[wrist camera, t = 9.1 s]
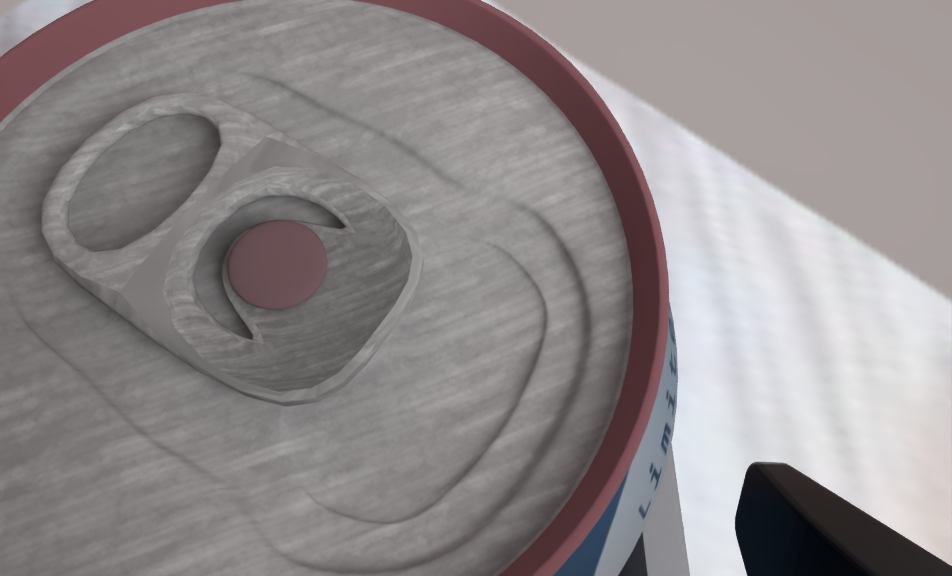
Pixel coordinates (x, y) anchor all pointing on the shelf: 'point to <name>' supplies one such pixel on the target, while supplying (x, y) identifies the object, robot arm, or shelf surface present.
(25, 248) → the soda can
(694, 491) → the shelf surface
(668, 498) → the can carrier
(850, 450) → the shelf surface
